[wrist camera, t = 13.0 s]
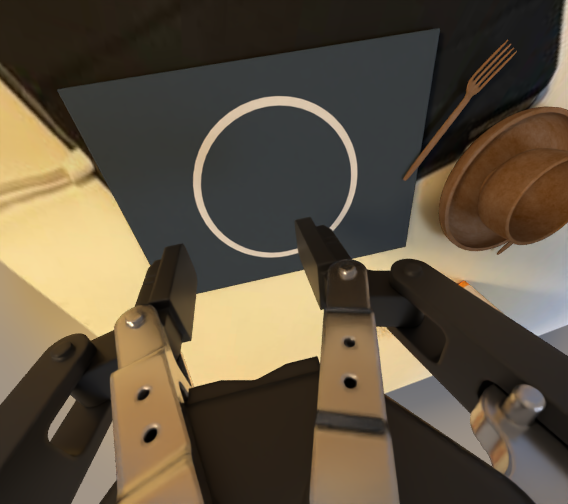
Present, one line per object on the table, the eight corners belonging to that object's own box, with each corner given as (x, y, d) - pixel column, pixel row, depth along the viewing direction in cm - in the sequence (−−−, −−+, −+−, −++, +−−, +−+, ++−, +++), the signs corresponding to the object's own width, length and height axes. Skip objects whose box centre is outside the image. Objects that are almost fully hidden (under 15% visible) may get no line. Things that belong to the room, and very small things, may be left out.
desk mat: (169, 295, 24) (168, 301, 24) (61, 88, 15) (55, 89, 14) (402, 243, 26) (406, 247, 26) (434, 28, 17) (442, 27, 16)
